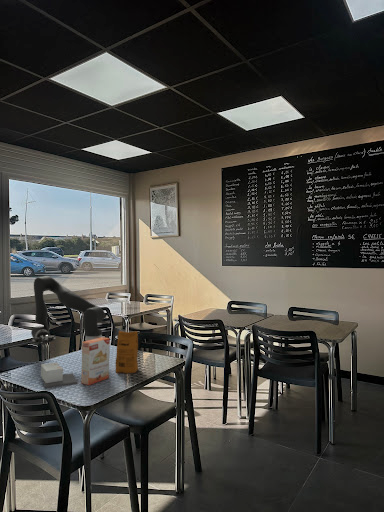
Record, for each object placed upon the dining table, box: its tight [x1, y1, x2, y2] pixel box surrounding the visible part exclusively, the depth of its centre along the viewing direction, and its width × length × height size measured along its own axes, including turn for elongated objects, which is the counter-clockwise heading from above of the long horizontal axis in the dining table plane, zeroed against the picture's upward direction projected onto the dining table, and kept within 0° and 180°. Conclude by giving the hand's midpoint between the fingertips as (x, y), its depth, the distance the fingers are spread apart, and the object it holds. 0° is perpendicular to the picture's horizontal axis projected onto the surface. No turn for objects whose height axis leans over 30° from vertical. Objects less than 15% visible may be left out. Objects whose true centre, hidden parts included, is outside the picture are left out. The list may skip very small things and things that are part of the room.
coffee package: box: [115, 330, 139, 374], centre depth 201 cm, size 10×12×22 cm
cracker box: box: [80, 336, 111, 386], centre depth 185 cm, size 14×6×21 cm, turn 148°
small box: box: [40, 362, 64, 383], centre depth 184 cm, size 8×6×13 cm
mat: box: [41, 372, 78, 389], centre depth 184 cm, size 15×14×1 cm
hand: (45, 341), depth 201 cm, fingers closed
